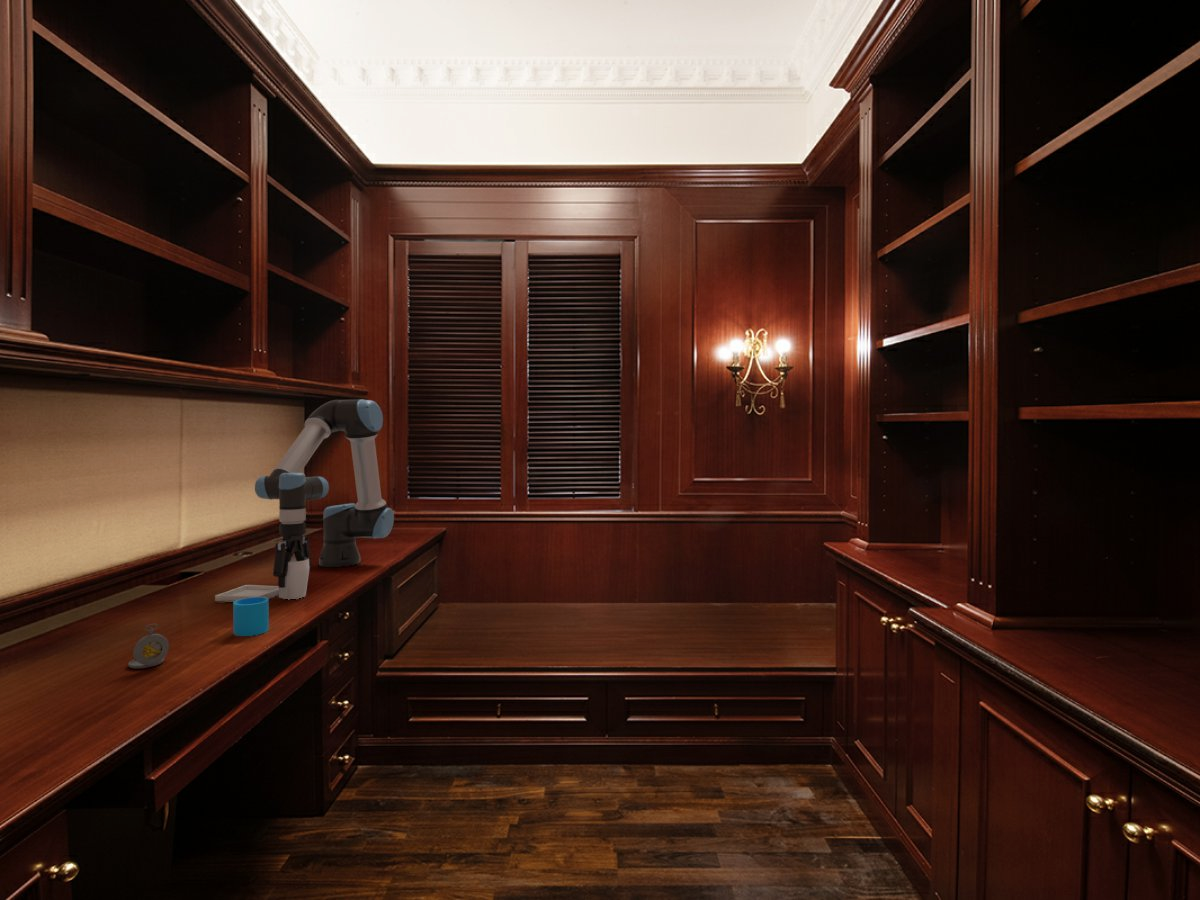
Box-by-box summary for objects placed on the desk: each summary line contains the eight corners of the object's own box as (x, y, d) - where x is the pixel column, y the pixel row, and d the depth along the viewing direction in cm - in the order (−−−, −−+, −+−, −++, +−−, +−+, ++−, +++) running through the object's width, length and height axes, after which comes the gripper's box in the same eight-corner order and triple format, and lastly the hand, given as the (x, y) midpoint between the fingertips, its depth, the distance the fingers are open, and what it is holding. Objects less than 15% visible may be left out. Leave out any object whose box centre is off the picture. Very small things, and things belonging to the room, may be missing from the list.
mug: (258, 637, 167) (258, 605, 167) (226, 636, 167) (226, 605, 167) (282, 623, 179) (281, 593, 179) (252, 623, 179) (251, 593, 179)
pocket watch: (144, 659, 151) (143, 615, 151) (178, 660, 150) (177, 617, 150) (114, 672, 143) (113, 626, 142) (150, 673, 142) (149, 627, 142)
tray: (246, 590, 214) (246, 584, 214) (285, 592, 212) (285, 586, 212) (215, 602, 200) (215, 595, 200) (257, 603, 198) (257, 597, 198)
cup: (297, 601, 201) (297, 562, 200) (271, 600, 203) (271, 561, 202) (315, 594, 210) (315, 557, 209) (290, 593, 211) (290, 556, 211)
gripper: (302, 517, 217) (302, 585, 217) (258, 526, 195) (259, 602, 196) (323, 518, 216) (323, 586, 216) (282, 527, 194) (282, 603, 195)
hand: (293, 593), depth 206 cm, fingers closed on cup, 9 cm apart
